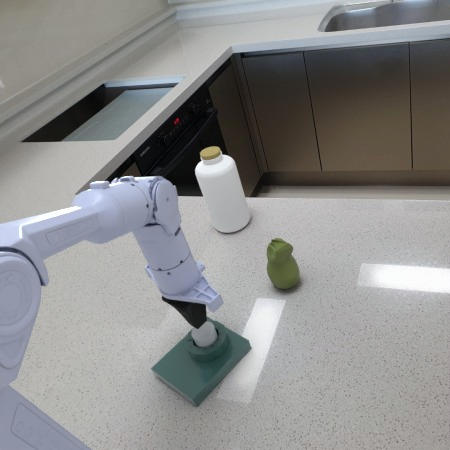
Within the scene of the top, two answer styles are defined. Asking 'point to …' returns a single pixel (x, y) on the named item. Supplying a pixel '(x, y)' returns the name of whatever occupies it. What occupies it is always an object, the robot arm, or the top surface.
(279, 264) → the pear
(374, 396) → the top surface
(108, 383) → the top surface
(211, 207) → the white bottle
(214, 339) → the light grey short cylinder
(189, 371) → the green socket base
